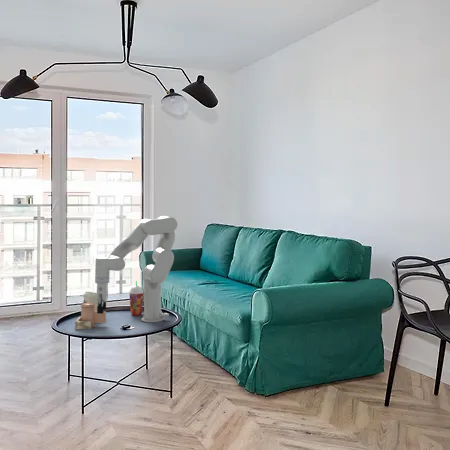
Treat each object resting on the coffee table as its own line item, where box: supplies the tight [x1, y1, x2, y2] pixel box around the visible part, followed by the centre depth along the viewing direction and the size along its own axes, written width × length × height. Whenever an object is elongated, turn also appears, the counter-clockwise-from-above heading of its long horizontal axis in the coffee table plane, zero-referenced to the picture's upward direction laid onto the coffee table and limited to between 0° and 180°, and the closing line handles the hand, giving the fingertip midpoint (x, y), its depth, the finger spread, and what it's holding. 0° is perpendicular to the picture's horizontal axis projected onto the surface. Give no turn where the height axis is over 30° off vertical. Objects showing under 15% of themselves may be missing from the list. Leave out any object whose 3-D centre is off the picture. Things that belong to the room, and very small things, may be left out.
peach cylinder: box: [80, 302, 107, 328], centre depth 274 cm, size 13×8×12 cm, turn 95°
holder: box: [74, 315, 92, 330], centre depth 274 cm, size 8×11×4 cm
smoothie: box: [128, 280, 144, 317], centre depth 299 cm, size 8×8×20 cm
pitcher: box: [82, 291, 98, 311], centre depth 291 cm, size 11×18×14 cm, turn 39°
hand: (101, 311), depth 274 cm, fingers open, 9 cm apart
